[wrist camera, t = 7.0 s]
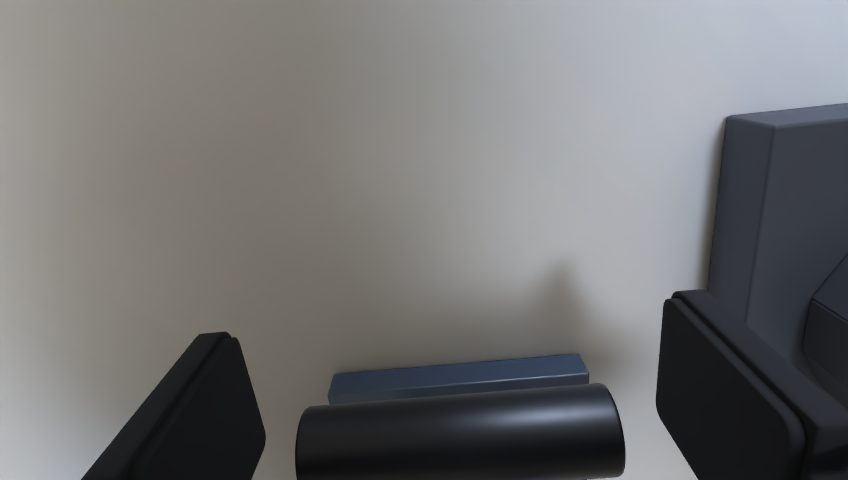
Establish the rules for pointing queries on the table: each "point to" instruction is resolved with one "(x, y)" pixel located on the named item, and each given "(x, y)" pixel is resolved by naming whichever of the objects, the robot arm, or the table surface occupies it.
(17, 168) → the table surface
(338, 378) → the switch bracket
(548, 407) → the switch lever
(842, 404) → the button housing
